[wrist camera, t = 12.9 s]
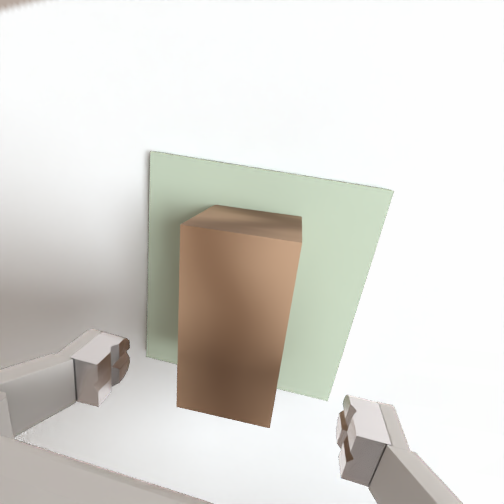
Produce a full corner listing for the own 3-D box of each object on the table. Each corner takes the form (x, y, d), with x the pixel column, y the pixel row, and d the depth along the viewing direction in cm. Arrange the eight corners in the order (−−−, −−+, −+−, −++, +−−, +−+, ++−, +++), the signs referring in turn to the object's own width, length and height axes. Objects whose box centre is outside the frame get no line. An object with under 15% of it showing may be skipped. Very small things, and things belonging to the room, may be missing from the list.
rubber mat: (326, 393, 18) (327, 401, 18) (150, 351, 19) (146, 356, 19) (390, 189, 14) (394, 191, 13) (155, 151, 15) (150, 151, 14)
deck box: (301, 216, 14) (302, 242, 10) (277, 361, 17) (269, 428, 13) (214, 204, 15) (180, 224, 10) (206, 346, 18) (176, 406, 13)
